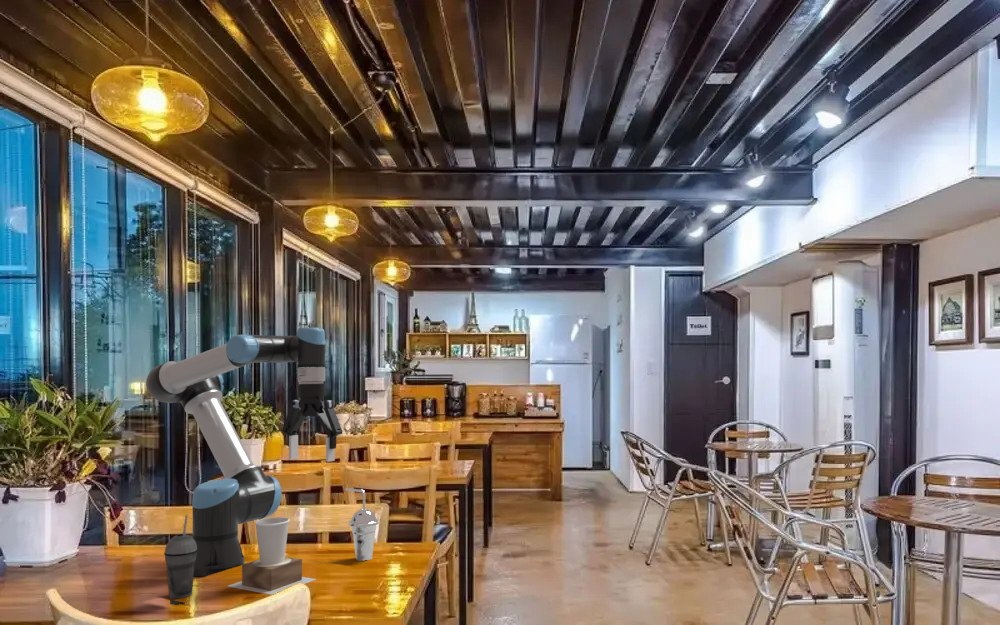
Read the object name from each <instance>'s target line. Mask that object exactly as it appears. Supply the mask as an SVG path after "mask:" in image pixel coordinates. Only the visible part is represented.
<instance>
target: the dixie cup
mask: <svg viewBox="0 0 1000 625" xmlns="http://www.w3.org/2000/svg"><path fill="white" fill-rule="evenodd" d="M290 521H291V519H290V518H288V517H285V516H284V517H283V516H274V517H273V516H270V517H265V518H263V519H257V520H255V522H254V524H255V530H256V537H257V545H258V546H257V547H258V553H259V554H258V555H259V559H260V563H261V564H265V565H272V564H278V563H282V562H283V561H284V558H285V557H286V550H287V549H286V548H287V540H288V532H289V531H288V530H289V524H290Z"/></svg>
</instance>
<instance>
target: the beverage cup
mask: <svg viewBox="0 0 1000 625" xmlns="http://www.w3.org/2000/svg"><path fill="white" fill-rule="evenodd" d="M187 524H188V515H187V514H186V515H185V516H184V523H183V532H182V533H179V534H176V535H175V536H172V537H171V538H170V539H169V540H168V542H167V543H166V546H165V549H164V559H165V563H166V573H167V574H166V575H167V584H168V585H167V586H168V597H169V598H170V599H169V604H170V605H171V604H174V605H173V606H180V605H179V604H182V605H186V604H185V603H186V602H184V601H179V599H185V598H188V597H190V596H192V594H193V587H194V586H193V585H194V577H195V576H194V567H195V559H196V555H197V551H198V550H197V545H196V542H195V540H194V539H193V538H192V536H191V535H189V534H186V533H187V532H186V531H187ZM174 599H175V600H174Z"/></svg>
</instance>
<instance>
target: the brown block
mask: <svg viewBox="0 0 1000 625" xmlns="http://www.w3.org/2000/svg"><path fill="white" fill-rule="evenodd" d="M241 573H242V574H241V579H242V580H241V581H242V586H248V587H253V588H258V589H264V590H269V591H273V590H275V589H278V588H281V587H284V586H286V585H289V584H292V583H295V582H297V581H300V580H302V577H303V559H302V558H296V557H290V556H285V558H284V561H283V562H282V563H278V564H272V565H265V564H261V563H260V558H259V559H256V560H252V561H249V562H245V563H244V564H242V565H241Z"/></svg>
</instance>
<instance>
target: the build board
mask: <svg viewBox="0 0 1000 625" xmlns="http://www.w3.org/2000/svg"><path fill="white" fill-rule="evenodd" d="M316 580H317V579H316V578H311V577H305V576H302V580H300V581H297V582H295V583H292V584H289V585H286V586H284V587H281V588H278V589H275V590H273V591H269V590H264V589H258V588H253V587H248V586H242V580H241V581H238V582H235V583H232V584H229V585H227V587H229V588H235V589H239V590H245V591H250V592H254V593H255V592H256V593H261V594H266V595H271V596H274V595H273V594H275V593H277V592H279V591H282V590H284V589H286V588H288V587H290V586H293V585H295V584H298V583H303V585H306V584H308V583H311V582H314V581H316Z"/></svg>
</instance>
